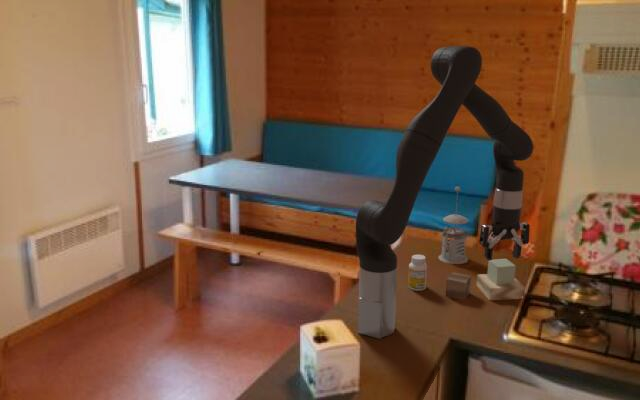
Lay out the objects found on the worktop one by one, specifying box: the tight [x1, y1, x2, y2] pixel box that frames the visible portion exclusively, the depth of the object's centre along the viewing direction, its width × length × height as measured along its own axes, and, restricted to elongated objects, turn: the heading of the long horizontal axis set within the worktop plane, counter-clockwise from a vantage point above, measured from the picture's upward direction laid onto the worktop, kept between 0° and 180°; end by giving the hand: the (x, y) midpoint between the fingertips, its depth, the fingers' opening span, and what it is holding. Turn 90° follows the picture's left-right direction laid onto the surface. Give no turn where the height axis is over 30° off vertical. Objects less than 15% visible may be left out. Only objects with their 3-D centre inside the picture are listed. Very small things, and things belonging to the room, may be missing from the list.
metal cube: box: [445, 271, 472, 301], centre depth 164 cm, size 6×6×6 cm
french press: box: [438, 186, 469, 265], centre depth 187 cm, size 10×12×25 cm
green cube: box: [486, 258, 516, 285], centre depth 164 cm, size 6×6×6 cm
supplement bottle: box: [407, 254, 428, 292], centre depth 168 cm, size 5×5×10 cm
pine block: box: [476, 273, 525, 301], centre depth 166 cm, size 10×10×4 cm
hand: (502, 258), depth 163 cm, fingers open, 8 cm apart
